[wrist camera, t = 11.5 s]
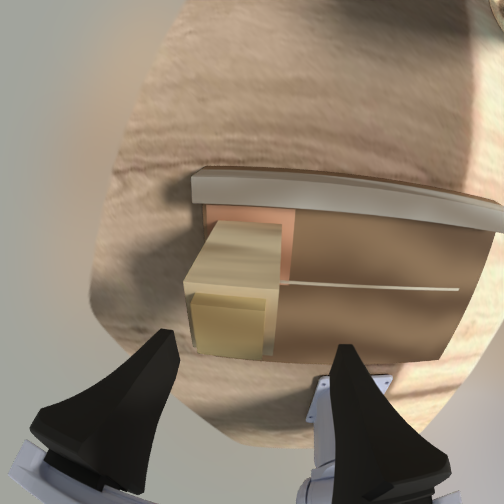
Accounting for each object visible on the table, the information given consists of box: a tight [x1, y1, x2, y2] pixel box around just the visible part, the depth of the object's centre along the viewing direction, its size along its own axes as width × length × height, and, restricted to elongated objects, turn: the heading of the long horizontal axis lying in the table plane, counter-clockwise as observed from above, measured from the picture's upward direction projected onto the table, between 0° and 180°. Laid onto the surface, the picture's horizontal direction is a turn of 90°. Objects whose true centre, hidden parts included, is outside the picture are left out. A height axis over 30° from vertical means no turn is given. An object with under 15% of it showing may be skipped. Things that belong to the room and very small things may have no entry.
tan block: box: [183, 220, 282, 361], centre depth 15 cm, size 4×4×8 cm
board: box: [191, 166, 504, 364], centre depth 19 cm, size 16×22×3 cm
